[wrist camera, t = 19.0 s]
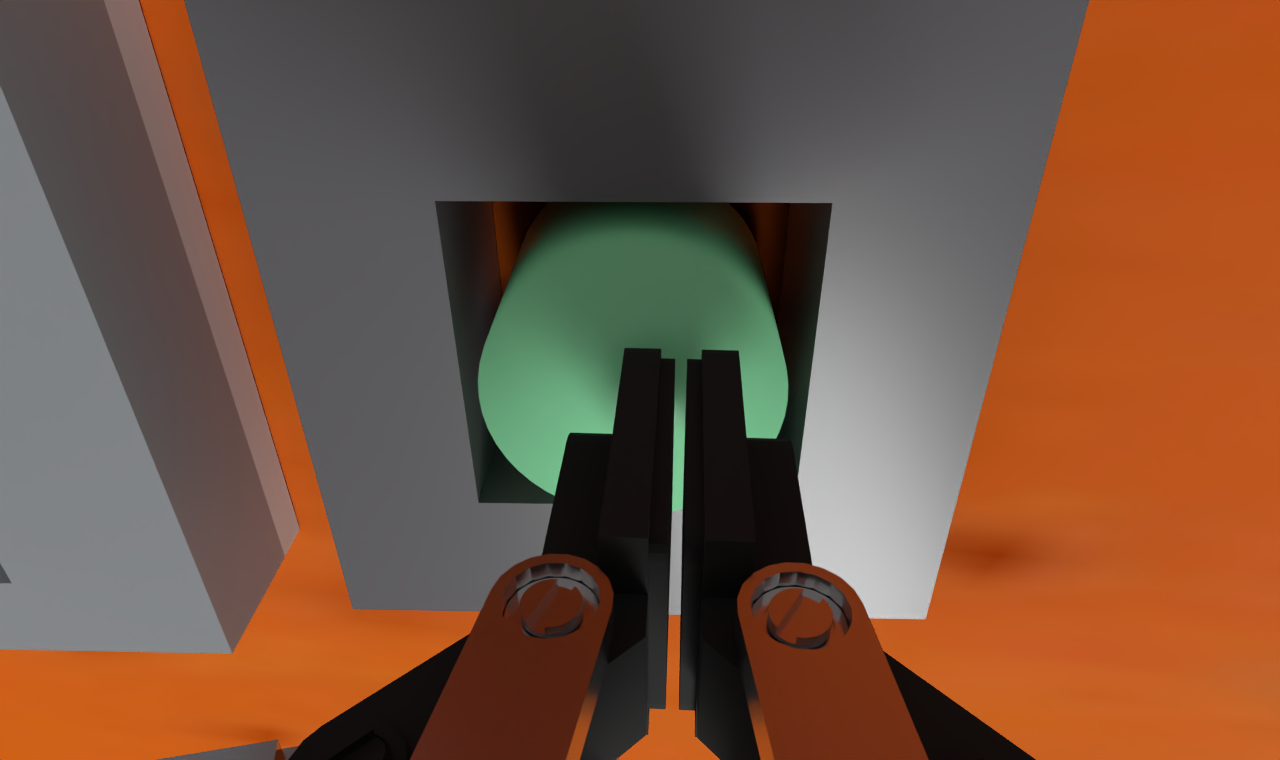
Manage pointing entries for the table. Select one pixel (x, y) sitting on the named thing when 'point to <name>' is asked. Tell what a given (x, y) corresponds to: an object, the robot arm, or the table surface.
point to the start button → (624, 323)
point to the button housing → (634, 172)
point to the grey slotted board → (118, 360)
